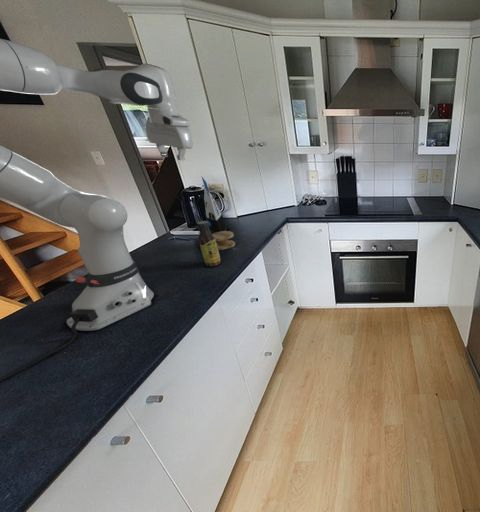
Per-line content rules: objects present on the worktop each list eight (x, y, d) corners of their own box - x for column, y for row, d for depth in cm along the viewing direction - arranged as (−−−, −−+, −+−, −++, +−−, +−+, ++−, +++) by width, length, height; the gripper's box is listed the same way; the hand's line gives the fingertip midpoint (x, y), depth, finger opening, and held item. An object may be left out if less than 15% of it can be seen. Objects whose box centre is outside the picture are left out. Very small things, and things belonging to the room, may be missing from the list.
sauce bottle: (214, 267, 121) (201, 225, 112) (202, 266, 122) (188, 224, 113) (225, 261, 126) (213, 220, 118) (213, 260, 127) (201, 219, 119)
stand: (224, 251, 136) (221, 239, 133) (206, 248, 139) (203, 237, 136) (240, 242, 146) (237, 232, 143) (223, 240, 148) (220, 230, 145)
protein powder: (223, 223, 174) (210, 175, 161) (230, 234, 156) (216, 181, 143) (206, 226, 169) (191, 176, 155) (211, 238, 151) (195, 183, 138)
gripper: (136, 115, 100) (146, 155, 105) (174, 120, 94) (182, 162, 99) (155, 117, 105) (163, 154, 111) (192, 122, 99) (199, 161, 105)
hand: (172, 158), depth 105 cm, fingers open, 8 cm apart
